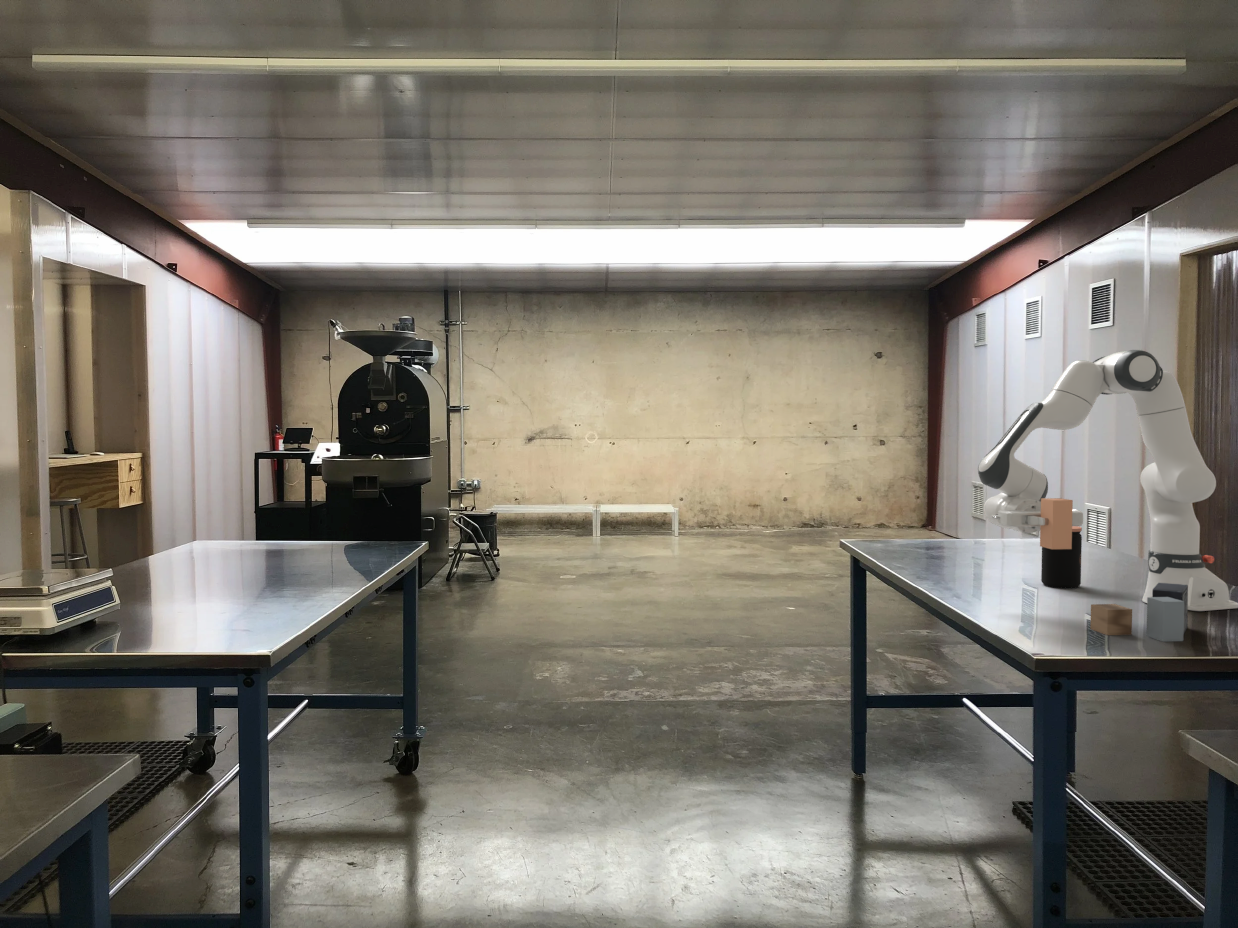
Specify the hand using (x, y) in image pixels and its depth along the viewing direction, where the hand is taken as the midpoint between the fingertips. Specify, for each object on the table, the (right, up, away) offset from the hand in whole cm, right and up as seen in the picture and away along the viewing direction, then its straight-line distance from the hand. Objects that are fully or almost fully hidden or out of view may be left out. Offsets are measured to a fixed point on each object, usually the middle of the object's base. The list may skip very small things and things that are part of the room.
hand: (1058, 521), depth 204 cm
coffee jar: (+26, -23, +48) cm, 60 cm away
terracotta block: (0, -6, +1) cm, 7 cm away
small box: (+23, -25, -7) cm, 35 cm away
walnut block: (+8, -25, -8) cm, 28 cm away
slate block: (+16, -26, -15) cm, 34 cm away
